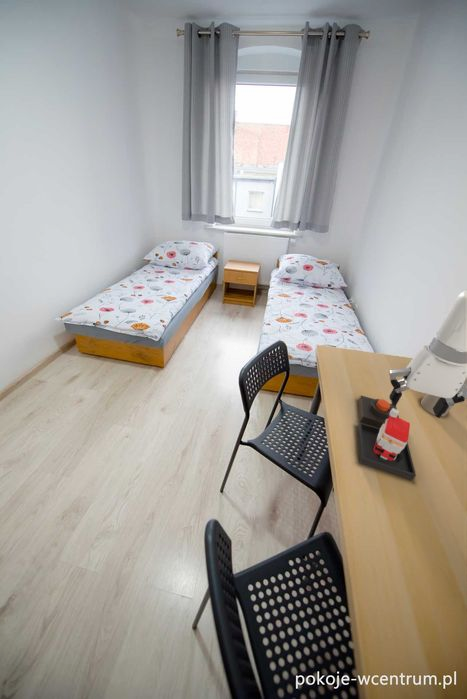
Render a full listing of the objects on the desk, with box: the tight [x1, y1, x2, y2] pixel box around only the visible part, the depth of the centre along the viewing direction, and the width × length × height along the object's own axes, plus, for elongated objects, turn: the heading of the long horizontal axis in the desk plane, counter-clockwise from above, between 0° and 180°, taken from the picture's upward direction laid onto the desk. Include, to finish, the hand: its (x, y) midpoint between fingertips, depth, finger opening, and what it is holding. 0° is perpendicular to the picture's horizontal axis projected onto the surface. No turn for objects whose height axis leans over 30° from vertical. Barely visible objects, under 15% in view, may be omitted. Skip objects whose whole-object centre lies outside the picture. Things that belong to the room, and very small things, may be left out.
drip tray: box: [356, 422, 417, 481], centre depth 77 cm, size 13×13×2 cm
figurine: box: [373, 408, 411, 462], centre depth 73 cm, size 8×7×12 cm
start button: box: [376, 399, 391, 412], centre depth 86 cm, size 4×4×2 cm
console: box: [357, 395, 400, 428], centre depth 87 cm, size 11×10×4 cm
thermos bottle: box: [420, 378, 467, 417], centre depth 87 cm, size 8×8×28 cm
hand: (413, 407), depth 67 cm, fingers open, 9 cm apart
